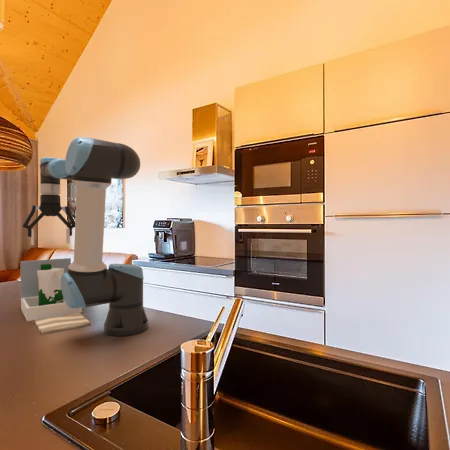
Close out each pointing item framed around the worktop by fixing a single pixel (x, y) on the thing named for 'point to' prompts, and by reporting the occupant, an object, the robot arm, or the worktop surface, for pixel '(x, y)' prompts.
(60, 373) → the worktop surface
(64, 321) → the wooden mat
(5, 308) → the worktop surface
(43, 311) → the equipment case
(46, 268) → the soya milk
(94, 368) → the worktop surface
